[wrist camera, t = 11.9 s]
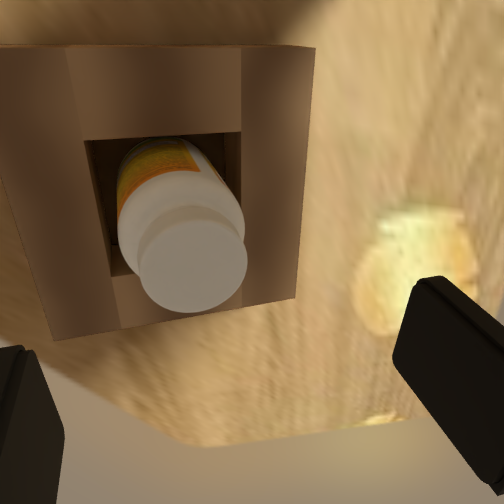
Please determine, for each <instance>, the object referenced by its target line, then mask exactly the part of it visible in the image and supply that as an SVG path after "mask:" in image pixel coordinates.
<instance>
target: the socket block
mask: <svg viewBox="0 0 504 504" xmlns="http://www.w3.org/2000/svg"><path fill="white" fill-rule="evenodd" d="M315 50H316V48H311V47H302V46H292V45H0V176H1V179H2V182H3V185H4V188H5V191H6V194H7V197H8V201H9V204H10V207H11V210H12V213H13V216H14V219H15V222H16V225H17V228H18V231H19V235H20V238H21V241H22V244H23V247H24V250H25V253H26V256H27V259H28V262H29V265H30V269H31V272H32V275H33V278H34V281H35V284H36V287H37V290H38V293H39V296H40V299H41V303H42V306H43V309H44V312H45V315H46V318H47V321H48V324H49V327H50V330H51V333H52V337H53V340H54V341H59V340H64V339H70V338H75V337H81V336H87V335H92V334H98V333H103V332H109V331H114V330H120V329H126V328H131V327H137V326H142V325H148V324H154V323H159V322H165V321H170V320H176V319H181V318H187V317H193V316H198V315H204V314H209V313H215V312H220V311H226V310H232V309H237V308H243V307H248V306H254V305H260V304H265V303H271V302H276V301H282V300H287V299H293V298H295V294H296V282H297V269H298V257H299V245H300V233H301V221H302V209H303V196H304V184H305V172H306V160H307V148H308V136H309V123H310V111H311V99H312V87H313V75H314V63H315ZM222 132H225V173H226V185H227V187H228V188H229V189H230V191H231V192H232V193H233V195H234V197H235V198H236V200H237V202H238V204H239V206H240V208H241V210H242V213H243V217H244V223H245V235H244V241H243V243H244V245H245V248H246V252H247V270H246V274H245V277H244V279H243V281H242V283H241V285H240V286H239V288H238V289H237V290H236V292H235V293H234V294H233V295H232V296H231V297H230V298H228V299H227V300H226V301H224V302H223V303H221V304H219V305H218V306H216V307H213V308H211V309H208V310H205V311H201V312H194V313H182V312H176V311H171V310H169V309H166V308H164V307H162V306H160V305H159V304H157V303H156V302H154V301H153V300H152V299H151V298H150V297H149V296H148V294H147V293H146V291H145V290H144V288H143V286H142V283H141V280H140V277H139V276H138V275H137V274H136V273H135V272H134V271H133V270H132V269H131V268H130V267H129V265H128V264H127V262H126V261H125V259H124V257H123V255H122V252H121V249H120V246H119V245H113V246H112V244H111V239H110V234H109V229H108V224H107V218H106V213H105V208H104V203H103V198H102V193H101V187H100V182H99V177H98V172H97V167H96V162H95V156H94V151H93V146H92V141H91V140H102V139H119V138H136V137H154V136H171V135H188V134H205V133H222Z"/></svg>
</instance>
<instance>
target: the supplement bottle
mask: <svg viewBox="0 0 504 504" xmlns="http://www.w3.org/2000/svg"><path fill="white" fill-rule="evenodd" d="M116 188H117V228H118V240H119V246H120V249H121V252H122V255H123V257H124V259H125V261H126V262H127V264H128V265H129V267H130V268H131V269H132V270H133V271H134V272H135V273H136V274H137V275H138V276H139V277H140V280H141V283H142V286H143V288H144V290H145V291H146V293H147V294H148V296H149V297H150V298H151V299H152V300H153V301H154V302H156V303H157V304H159V305H160V306H162V307H164V308H166V309H169V310H171V311H176V312H182V313H194V312H201V311H205V310H208V309H211V308H213V307H216V306H218V305H219V304H221V303H223V302H224V301H226V300H227V299H228V298H230V297H231V296H232V295H233V294H234V293H235V292H236V290H237V289H238V288H239V286H240V285H241V283H242V281H243V279H244V277H245V274H246V270H247V252H246V248H245V245H244V243H243V241H244V235H245V223H244V217H243V213H242V210H241V208H240V206H239V204H238V202H237V200H236V198H235V197H234V195H233V193H232V192H231V191H230V189H229V188H228V187H227V185H226V184H225V182H224V181H223V180H222V178H221V177H220V175H219V174H218V172H217V171H216V170H215V168H214V167H213V165H212V164H211V162H210V161H209V160H208V158H207V157H206V156H205V155H204V153H203V152H202V151H201V150H200V149H198V148H197V147H196V146H195V145H193V144H192V143H190V142H188V141H186V140H184V139H181V138H177V137H171V136H159V137H153V138H150V139H147V140H144V141H142V142H140V143H139V144H137V145H136V146H134V147H133V148H132V149H131V150H130V151H129V152H128V153H127V154H126V156H125V157H124V159H123V160H122V162H121V164H120V167H119V170H118V174H117V182H116Z"/></svg>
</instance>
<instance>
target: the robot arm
mask: <svg viewBox="0 0 504 504" xmlns="http://www.w3.org/2000/svg"><path fill="white" fill-rule="evenodd" d="M392 360H393V364H394V366H395V368H396V369H397V370H398V372H399V373H400V374H401V376H402V377H403V378H404V380H405V381H406V382H407V384H408V385H409V386H410V388H411V389H412V390H413V392H414V393H415V394H416V396H417V397H418V398H419V400H420V401H421V402H422V404H423V405H424V406H425V408H426V409H427V410H428V412H429V413H430V414H431V416H432V417H433V418H434V419H435V421H436V422H437V423H438V425H439V426H440V427H441V429H442V430H443V431H444V433H445V434H446V435H447V437H448V438H449V439H450V441H451V442H452V443H453V445H454V446H455V447H456V449H457V450H458V451H459V453H460V454H461V455H462V457H463V458H464V459H465V461H466V462H467V463H468V465H469V466H470V467H471V468H472V470H473V471H474V472H475V474H476V475H477V476H478V477H479V479H480V480H481V481H483V482H484V483H486V484H489V486H490V487H491V488H492V490H493V491H494V492H495V493H496V495H497V496H499V495H502V494H504V326H503V325H501V324H500V323H499V322H498V321H497V320H496V319H494V318H493V317H492V316H491V315H490V314H488V313H487V312H486V311H485V310H484V309H482V308H481V307H480V306H479V305H478V304H477V303H475V302H474V301H473V300H472V299H471V298H469V297H468V296H467V295H466V294H465V293H463V292H462V291H461V290H460V289H459V288H457V287H456V286H455V285H454V284H453V283H451V282H450V281H449V280H448V279H447V278H445V277H443V276H434V277H428V278H422V279H419V280H418V281H417V283H416V285H415V286H413V288H412V290H411V294H410V297H409V301H408V304H407V307H406V311H405V314H404V317H403V321H402V324H401V327H400V331H399V334H398V338H397V341H396V344H395V348H394V351H393V355H392ZM64 440H65V436H64V427H63V424H62V421H61V419H60V416H59V414H58V411H57V408H56V406H55V403H54V401H53V398H52V395H51V393H50V390H49V388H48V385H47V382H46V380H45V377H44V375H43V372H42V369H41V367H40V364H39V362H38V359H37V356H36V354H35V352H34V351H33V350H27V351H26V350H25V348H24V347H23V346H22V345H15V346H9V347H3V348H0V504H56V500H57V492H58V485H59V478H60V471H61V463H62V455H63V449H64Z"/></svg>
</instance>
